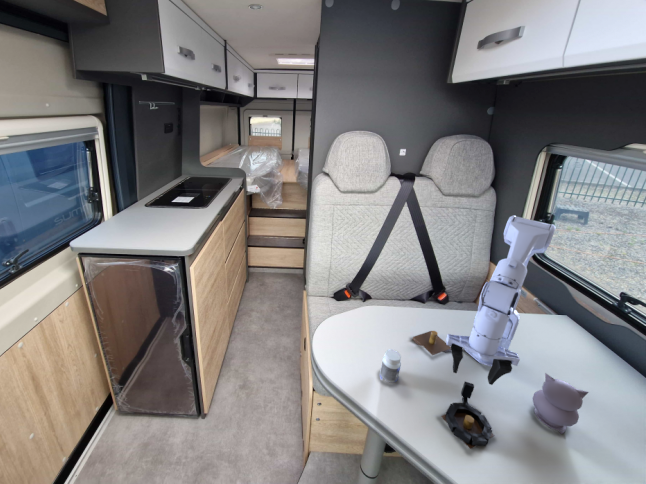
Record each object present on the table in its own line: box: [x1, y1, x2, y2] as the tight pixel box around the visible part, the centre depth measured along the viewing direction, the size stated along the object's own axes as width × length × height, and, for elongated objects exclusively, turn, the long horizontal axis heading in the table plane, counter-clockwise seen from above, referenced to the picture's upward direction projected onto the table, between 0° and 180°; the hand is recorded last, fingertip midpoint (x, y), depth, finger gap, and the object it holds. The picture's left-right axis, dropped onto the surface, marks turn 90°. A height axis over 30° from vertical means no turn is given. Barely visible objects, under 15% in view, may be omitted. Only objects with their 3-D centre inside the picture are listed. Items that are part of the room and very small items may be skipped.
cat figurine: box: [532, 372, 589, 435], centre depth 73 cm, size 8×8×12 cm
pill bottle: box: [379, 348, 402, 383], centre depth 83 cm, size 5×5×8 cm
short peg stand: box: [440, 413, 496, 450], centre depth 71 cm, size 8×8×4 cm
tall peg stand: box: [411, 330, 451, 356], centre depth 96 cm, size 8×8×5 cm
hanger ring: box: [445, 381, 493, 447], centre depth 72 cm, size 12×9×6 cm
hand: (471, 375), depth 75 cm, fingers open, 7 cm apart
